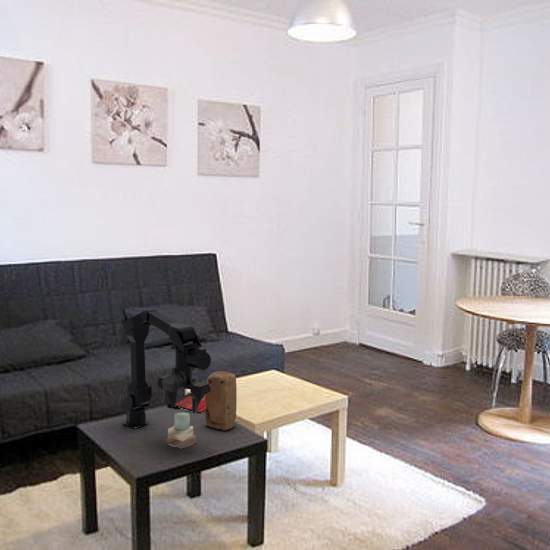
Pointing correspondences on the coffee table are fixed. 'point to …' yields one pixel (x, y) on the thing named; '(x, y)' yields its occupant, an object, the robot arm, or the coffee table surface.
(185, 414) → the pale green cube
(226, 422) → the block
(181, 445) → the tower base
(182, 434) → the tower top
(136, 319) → the robot arm
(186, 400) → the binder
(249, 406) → the coffee table surface
